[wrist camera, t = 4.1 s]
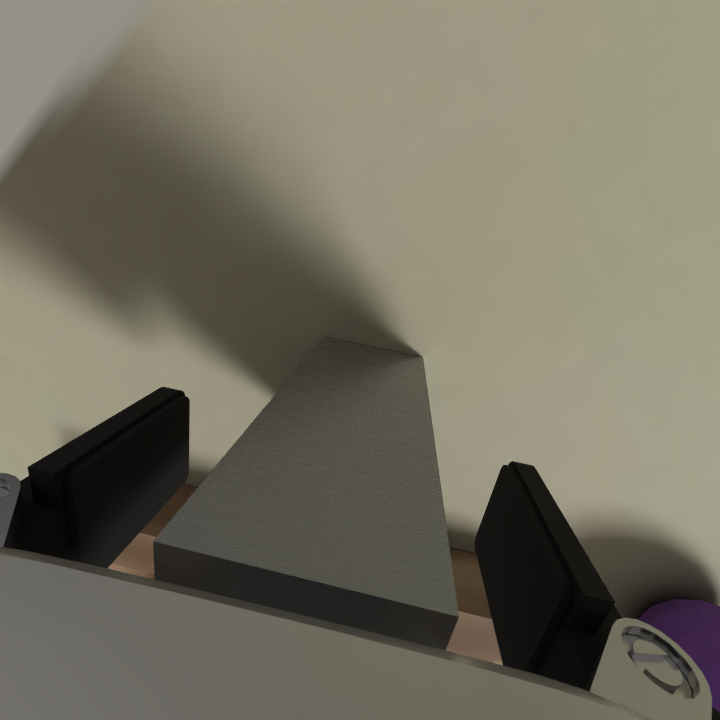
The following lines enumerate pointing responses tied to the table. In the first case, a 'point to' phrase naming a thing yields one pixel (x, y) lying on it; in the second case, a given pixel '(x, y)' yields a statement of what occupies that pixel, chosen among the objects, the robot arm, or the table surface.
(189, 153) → the table surface
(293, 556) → the square peg
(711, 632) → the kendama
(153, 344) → the table surface
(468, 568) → the socket block
